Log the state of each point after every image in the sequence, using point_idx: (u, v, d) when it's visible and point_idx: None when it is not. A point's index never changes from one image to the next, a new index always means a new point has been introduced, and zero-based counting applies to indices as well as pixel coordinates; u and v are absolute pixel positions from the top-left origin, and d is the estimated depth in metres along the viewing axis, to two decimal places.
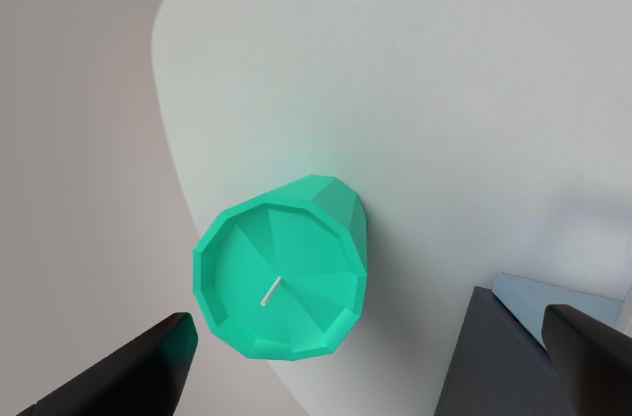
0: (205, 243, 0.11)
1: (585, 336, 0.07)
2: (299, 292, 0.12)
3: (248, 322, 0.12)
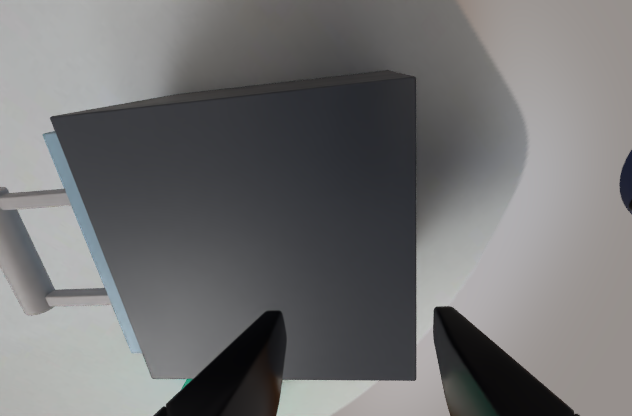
0: None
1: (450, 337, 0.07)
2: None
3: None
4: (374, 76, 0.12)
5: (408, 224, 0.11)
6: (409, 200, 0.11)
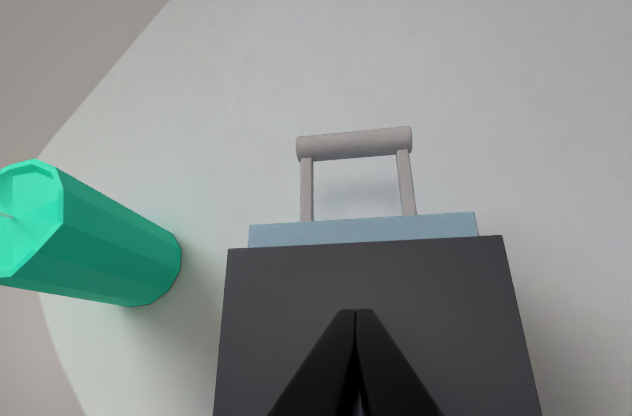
0: None
1: (357, 338, 0.07)
2: (25, 223, 0.16)
3: None
4: None
5: None
6: None
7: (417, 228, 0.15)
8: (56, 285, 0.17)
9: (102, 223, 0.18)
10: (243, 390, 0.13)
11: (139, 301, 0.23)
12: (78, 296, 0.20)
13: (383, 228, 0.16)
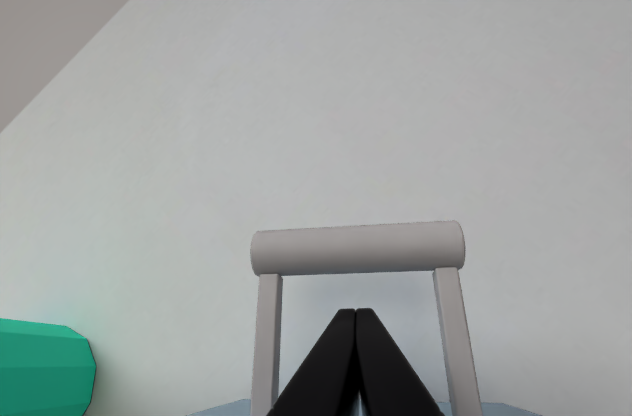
0: None
1: (357, 338, 0.07)
2: None
3: None
4: None
5: None
6: None
7: None
8: None
9: None
10: None
11: None
12: None
13: None
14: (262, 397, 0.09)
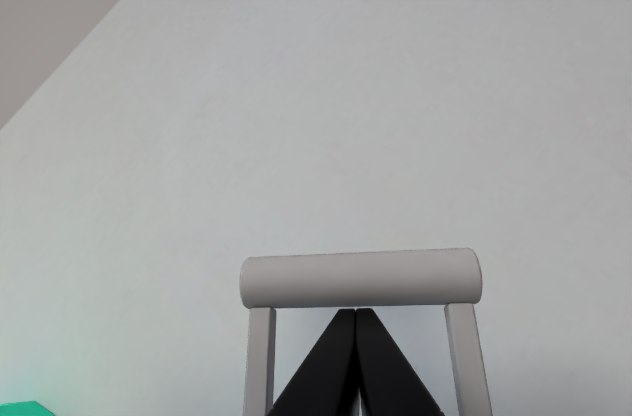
0: None
1: (356, 338, 0.07)
2: None
3: None
4: None
5: None
6: None
7: None
8: None
9: None
10: None
11: None
12: None
13: None
14: None
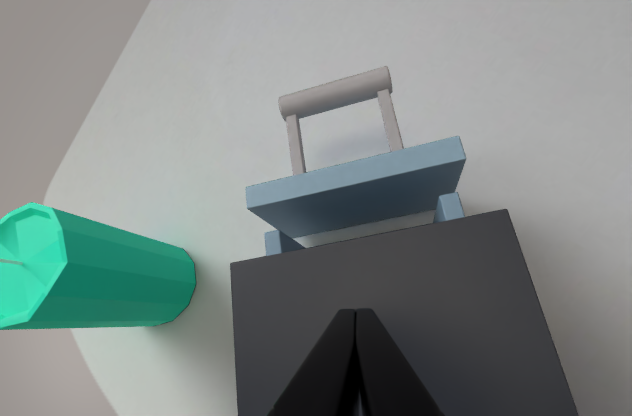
0: None
1: (356, 338, 0.07)
2: (33, 267, 0.16)
3: (1, 306, 0.16)
4: None
5: None
6: None
7: (405, 161, 0.16)
8: (75, 320, 0.17)
9: (108, 253, 0.18)
10: (264, 402, 0.13)
11: (161, 320, 0.23)
12: (101, 325, 0.20)
13: (372, 167, 0.16)
14: (297, 167, 0.18)
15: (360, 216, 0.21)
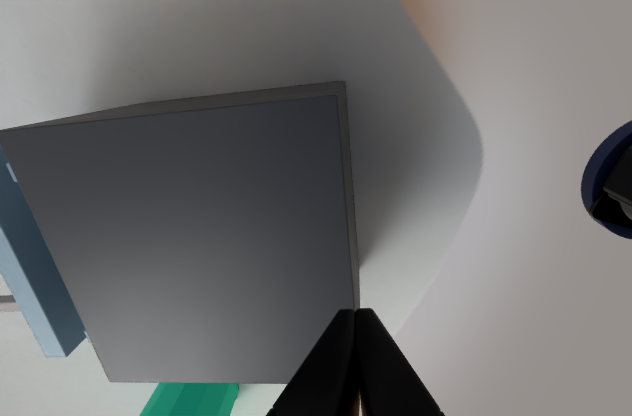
0: None
1: (356, 338, 0.07)
2: None
3: None
4: (313, 90, 0.13)
5: (341, 235, 0.12)
6: (340, 211, 0.11)
7: None
8: None
9: None
10: (219, 364, 0.15)
11: (227, 387, 0.26)
12: None
13: None
14: None
15: None
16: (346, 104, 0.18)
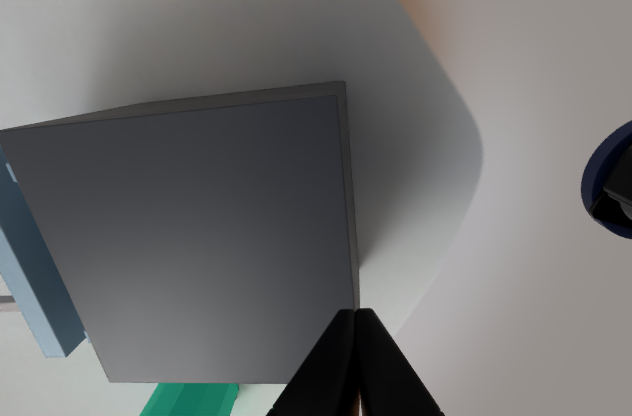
0: None
1: (356, 339, 0.07)
2: None
3: None
4: (313, 90, 0.13)
5: (341, 235, 0.12)
6: (340, 211, 0.11)
7: None
8: None
9: None
10: (219, 364, 0.15)
11: (227, 387, 0.26)
12: None
13: None
14: None
15: None
16: (346, 104, 0.18)
